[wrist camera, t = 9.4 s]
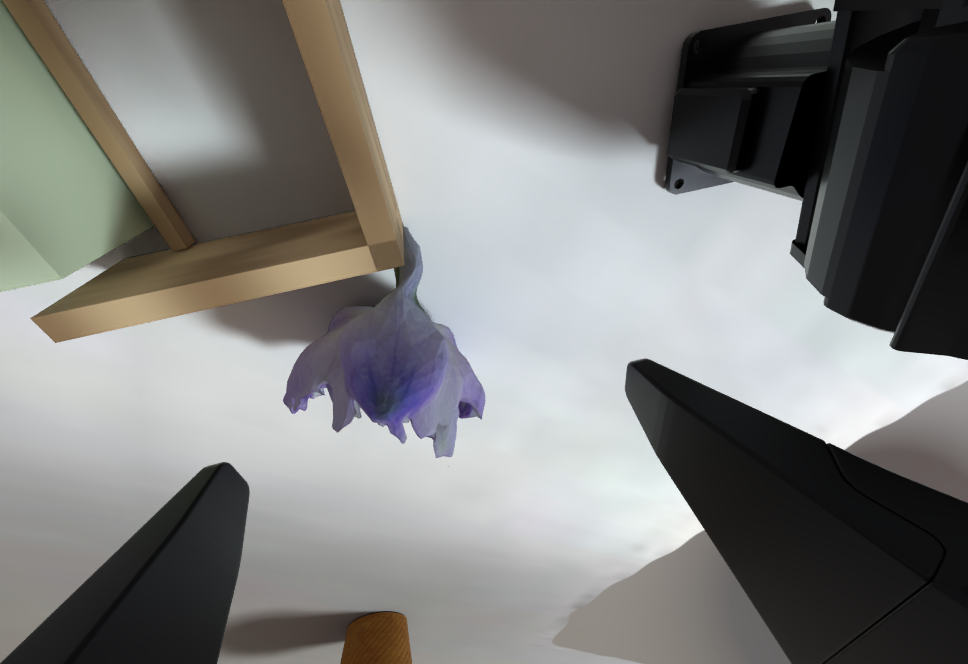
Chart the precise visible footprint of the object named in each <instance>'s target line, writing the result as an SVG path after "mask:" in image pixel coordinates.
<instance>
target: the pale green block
mask: <svg viewBox="0 0 968 664" xmlns="http://www.w3.org/2000/svg"><path fill="white" fill-rule="evenodd" d="M153 226H155V225H154V223H153V222H152V220H151V219H150V217H149V216H148V215H147V213H146V212H145V210H144V209H143V207H142V206H141V204H140V203H139V201H138V200H137V198H136V197H135V195H134V194H133V192H132V191H131V189H130V188H129V187H128V185H127V184H126V182H125V181H124V179H123V178H122V176H121V175H120V173H119V172H118V170H117V169H116V167H115V166H114V164H113V163H112V161H111V160H110V159H109V157H108V156H107V154H106V153H105V151H104V150H103V148H102V147H101V145H100V144H99V142H98V141H97V139H96V138H95V136H94V135H93V133H92V132H91V130H90V129H89V128H88V126H87V125H86V123H85V122H84V120H83V119H82V117H81V116H80V114H79V113H78V111H77V110H76V108H75V107H74V105H73V104H72V102H71V101H70V100H69V98H68V97H67V95H66V94H65V92H64V91H63V89H62V88H61V86H60V85H59V83H58V82H57V80H56V79H55V77H54V76H53V74H52V73H51V72H50V70H49V69H48V67H47V66H46V64H45V63H44V61H43V60H42V58H41V57H40V55H39V54H38V52H37V51H36V49H35V48H34V46H33V45H32V44H31V42H30V41H29V39H28V38H27V36H26V35H25V33H24V32H23V30H22V29H21V27H20V26H19V24H18V23H17V21H16V20H15V18H14V17H13V16H12V14H11V13H10V11H9V10H8V8H7V7H6V5H5V4H4V2H3V1H2V0H0V292H2V291H7V290H12V289H17V288H22V287H26V286H31V285H36V284H41V283H45V282H50V281H55V280H60V279H63V278H65V277H66V276H68V275H70V274H72V273H73V272H75V271H77V270H79V269H80V268H82V267H84V266H85V265H87V264H89V263H91V262H92V261H94V260H96V259H98V258H99V257H101V256H103V255H105V254H106V253H108V252H110V251H111V250H113V249H115V248H117V247H118V246H120V245H122V244H124V243H125V242H127V241H129V240H131V239H132V238H134V237H136V236H137V235H139V234H141V233H143V232H144V231H146V230H148V229H150V228H151V227H153Z"/></svg>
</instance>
